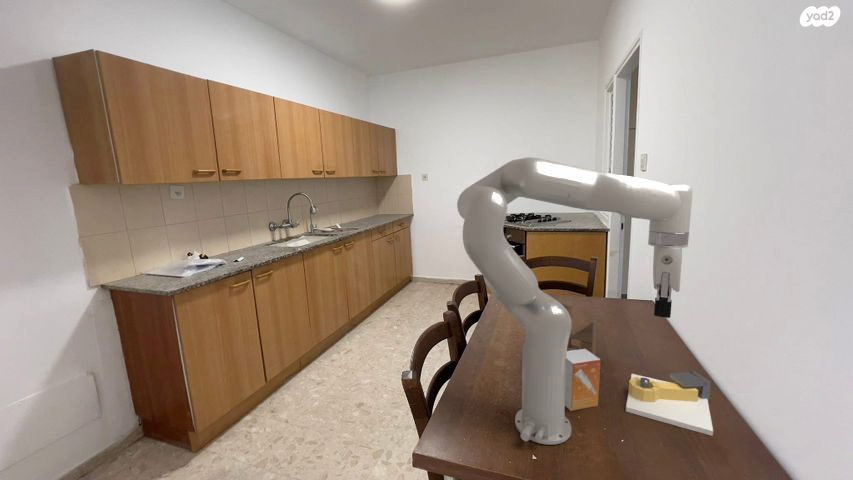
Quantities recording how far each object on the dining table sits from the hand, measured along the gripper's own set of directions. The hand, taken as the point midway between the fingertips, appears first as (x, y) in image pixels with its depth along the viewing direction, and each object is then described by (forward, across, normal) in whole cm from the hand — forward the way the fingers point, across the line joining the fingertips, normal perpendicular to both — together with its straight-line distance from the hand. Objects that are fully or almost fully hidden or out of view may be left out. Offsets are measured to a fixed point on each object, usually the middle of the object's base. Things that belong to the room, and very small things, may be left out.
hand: (662, 315), depth 84 cm
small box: (+25, -5, +17) cm, 31 cm away
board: (+25, +6, -2) cm, 26 cm away
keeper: (+25, +11, -7) cm, 28 cm away
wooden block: (+25, +19, +22) cm, 39 cm away
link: (+24, +7, -1) cm, 25 cm away
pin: (+25, +4, +2) cm, 26 cm away
